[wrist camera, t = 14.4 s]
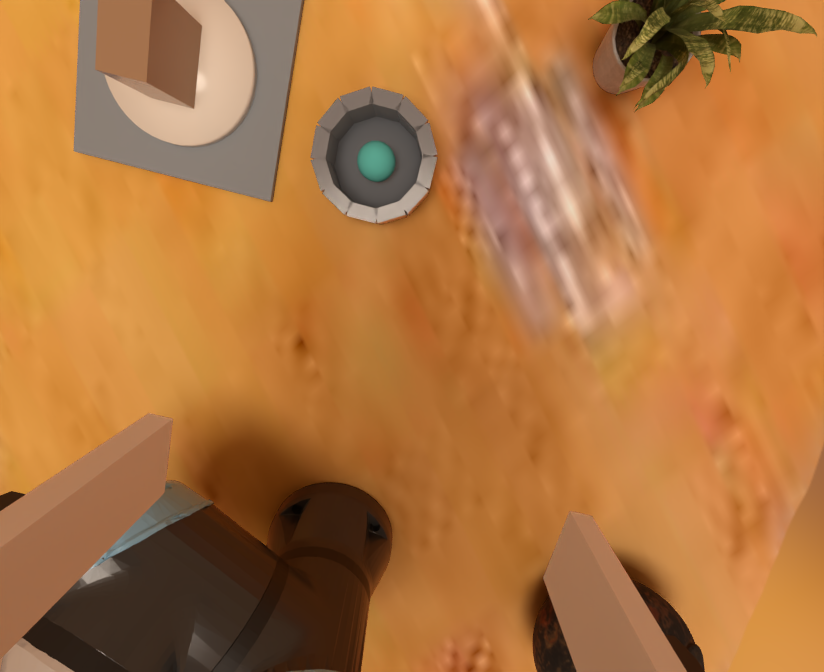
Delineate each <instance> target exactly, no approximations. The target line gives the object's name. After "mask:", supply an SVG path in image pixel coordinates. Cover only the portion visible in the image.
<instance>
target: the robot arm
mask: <svg viewBox="0 0 824 672" xmlns="http://www.w3.org/2000/svg"><path fill="white" fill-rule="evenodd" d="M172 422H173V419H172V418H167V417H163V416H159V415H154V414H150V413H148V414H147V415H145V416H144V417H142V418H141V419H139V420H138V421H136V422H135V423H133V424H132V425H130V426H129V427H127V428H126V429H124V430H123V431H121V432H120V433H118V434H116V435H115V436H113V437H112V438H110V439H109V440H107V441H106V442H104V443H103V444H101V445H100V446H98V447H97V448H95V449H94V450H92V451H91V452H89V453H88V454H86V455H85V456H83V457H82V458H80V459H79V460H77V461H76V462H74V463H73V464H71V465H70V466H68V467H67V468H65V469H64V470H62V471H61V472H59V473H57V474H56V475H54V476H53V477H51V478H50V479H48V480H47V481H45V482H44V483H42V484H41V485H39V486H38V487H36V488H35V489H33V490H32V491H30V492H29V493H27V494H22V493H17V492H13V491H11V492H8V493H6V494H3V495H1V496H0V659H1V658H2V657H3V658H2V665H1V669H0V672H361V666H362V658H363V650H364V642H365V634H366V626H367V618H368V611H369V603H370V598H371V596H372V594H373V592H374V590H375V588H376V587H377V585H378V583H379V581H380V579H381V577H382V576H383V574H384V572H385V570H386V568H387V566H388V563H389V559H390V555H391V546H392V529H391V525H390V522H389V519H388V517H387V515H386V513H385V512H384V510H383V509H382V507H381V506H380V505H379V504H378V503H377V502H376V501H375V500H374V499H373V498H372V497H370V496H369V495H368V494H366V493H364V492H363V491H361V490H359V489H357V488H354V487H351V486H348V485H344V484H339V483H319V484H314V485H310V486H307V487H304V488H302V489H300V490H298V491H296V492H295V493H293V494H292V495H291V496H289V497H288V498H287V499H286V500H285V501H284V502H283V504H282V505H281V506H280V508H279V510H278V512H277V514H276V515H275V517H274V519H273V521H272V524H271V526H270V529H269V533H268V540H267V547H266V546H265V545H264V544H263V543H261V542H260V541H259V540H257V539H256V538H255V537H254V536H252V535H251V534H250V533H248V532H247V531H246V530H245V529H243V528H242V527H241V526H239V525H238V524H237V523H236V522H234V521H233V520H232V519H230V518H229V517H228V516H227V515H225V514H224V513H223V512H221V511H220V510H219V509H218V508H216V507H215V506H214V505H213V504H214V503H213V501H211V500H206V499H205V498H203V497H202V496H200V495H199V494H197V493H196V492H194V491H193V490H191V489H190V488H188V487H187V486H185V485H184V484H182V483H180V482H178V481H173V480H168V481H166V475H167V466H168V457H169V449H170V440H171V431H172ZM543 579H544V582H545V585H546V587H547V590H548V593H549V596H550V599H551V601H552V604H553V607H554V610H555V613H556V615H557V618H558V621H559V624H560V626H561V629H562V632H563V635H564V638H565V640H566V643H567V646H568V649H569V652H570V654H571V657H572V660H573V663H574V666H575V668H576V671H577V672H705V671H704V670H703V668H702V667H701V665H700V664H699V662H698V661H697V659H696V658H695V657H694V656H693V655H692V654H691V653H690V652H689V650H688V649H687V648H686V647H685V646H684V645H683V644H682V643H681V642H680V641H679V640H678V639H677V638H676V637H675V636H670V635H666V634H664V633H663V632H662V630H661V628H660V627H659V625H658V623H657V622H656V620H655V619H654V617H653V615H652V614H651V612H650V610H649V609H648V607H647V605H646V604H645V602H644V601H643V599H642V597H641V596H640V594H639V592H638V591H637V589H636V587H635V586H634V584H633V582H632V581H631V579H630V578H629V576H628V574H627V573H626V571H625V569H624V568H623V566H622V564H621V563H620V561H619V560H618V558H617V556H616V555H615V553H614V551H613V550H612V548H611V546H610V545H609V543H608V541H607V540H606V538H605V537H604V535H603V533H602V532H601V530H600V528H599V527H598V525H597V523H596V522H595V520H594V519H593V517H592V516H590V515H586V514H581V513H577V512H573V511H569V514H568V516H567V519H566V521H565V524H564V526H563V529H562V531H561V534H560V536H559V539H558V542H557V544H556V547H555V549H554V552H553V554H552V557H551V559H550V562H549V564H548V567H547V569H546V572H545V574H544V577H543Z"/></svg>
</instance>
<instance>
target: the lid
mask: <svg viewBox="0 0 824 672" xmlns="http://www.w3.org/2000/svg"><path fill="white" fill-rule="evenodd" d="M95 70H97V71H99V72H101V73H103V74H105V78H106V81H107V83H108V86H109V89H110V91H111V93H112V95H113V97H114V99H115V100H116V102H117V103H118V105H119V106H120V108H121V109H122V110H123V112H124V113H125V114H126V115H127V117H128V118H129V119H130V120H131V121H132V122H133V123H134V124H136V125H137V126H138V127H139V128H141V129H142V130H143V131H145V132H147V133H148V134H150V135H151V136H153V137H156V138H158V139H160V140H163V141H165V142H168V143H171V144H174V145H178V146H184V147H202V146H207V145H211V144H214V143H216V142H219V141H221V140H223V139H224V138H226V137H227V136H229V135H230V134H231V133H233V132H234V131H235V130H236V129H237V128H238V127H239V125H240V124H241V123H242V122H243V120H244V119H245V117H246V116H247V114H248V112H249V110H250V108H251V105H252V102H253V99H254V96H255V90H256V83H257V66H256V59H255V53H254V50H253V46H252V43H251V40H250V38H249V36H248V33H247V31H246V29H245V28H244V26H243V24H242V22H241V21H240V19H239V18H238V16H237V15H236V14H235V12H234V11H233V10H232V9H231V8H230V6H229V5H228V4H227V3H226V2H225V1H224V0H98V11H97V36H96V60H95Z"/></svg>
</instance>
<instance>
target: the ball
mask: <svg viewBox="0 0 824 672" xmlns="http://www.w3.org/2000/svg"><path fill="white" fill-rule="evenodd" d="M357 164H358V168H359V170H360V172H361V174H362V175H363V176H364V177H365V178H366V179H368V180H370V181H373V182H381V181H384V180H386V179H387V178H389V177H390V176H391V174H392V173H393V171H394V168H395V156H394V153H393V151H392V149H391V148H390V147H389V146H388V145H387V144H386V143H384V142H381V141H370V142H368V143H366V144H365V145H363V146H362V148H361V149H360V151H359V153H358V157H357Z"/></svg>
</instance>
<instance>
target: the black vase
mask: <svg viewBox="0 0 824 672" xmlns="http://www.w3.org/2000/svg"><path fill="white" fill-rule="evenodd" d="M631 581H632V582H633V584H634V586H635V587H636V589H637V591H638V592H639V594H640V596H641V597H642V599H643V601H644V602H645V604H646V605H647V607H648V609H649V610H650V612H651V614H652V615H653V617H654V619H655V620H656V622H657V623H658V625H659V627H660V628H661V630H662V632H663V633H664V634H666V635H670V636H675V637H676V638H677V639H678V640H679V641H680V642H681V643H682V644H683V645H684V646H685V647H686V648H687V649H688V650H689V652H690V653H691V654H692V655H693V656H694V657H695V658H696V659H697V661H698V662H699V664H700V665H701V667H702V668H703V670H704V662H703V655H702V652H701V649H700V648H699V646H697V645H696V644H695V642H694V639H693V637H692V635H691V633H690V631H689V629H688V627H687V625H686V624H685V622H684V621H683V619H682V618H681V617H680V615H679V614H678V613H677V612H676V611H675V610H674V609H673V607H672V606H671V605H670V604H669V603H668V602H667V601H666V600H664V599H663V598H662V597H661V596H659V595H658V594H657V593H655V592H654V591H652V590H651V589H649V588H648V587H646V586H644V585H642V584H640V583H638V582H636V581H634V580H631ZM533 655H534V661H535V666H536V669H537V672H577V671H576V668H575V666H574V663H573V660H572V657H571V654H570V652H569V649H568V646H567V643H566V640H565V638H564V635H563V632H562V629H561V626H560V624H559V621H558V618H557V615H556V613H555V610H554V607H553V604H552V601H551V599H550V596H549V597H548V598H547V600H546V601H545V603H544V604H543V606H542V608H541V610H540V612H539V614H538V617H537V620H536V623H535V627H534V634H533Z"/></svg>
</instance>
